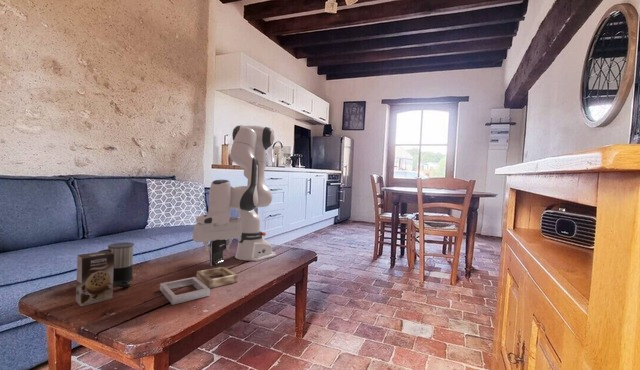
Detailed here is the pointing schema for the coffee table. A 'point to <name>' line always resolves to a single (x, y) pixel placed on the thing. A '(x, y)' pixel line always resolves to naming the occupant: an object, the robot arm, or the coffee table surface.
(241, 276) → the coffee table surface
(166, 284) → the frame
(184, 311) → the coffee table surface
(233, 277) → the tan wooden frame
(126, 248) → the milk frother
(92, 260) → the cookie box
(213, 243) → the battery charger
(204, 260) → the coffee table surface
